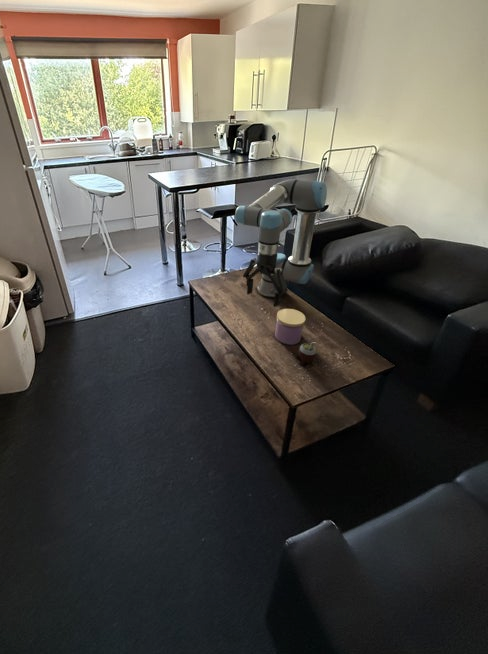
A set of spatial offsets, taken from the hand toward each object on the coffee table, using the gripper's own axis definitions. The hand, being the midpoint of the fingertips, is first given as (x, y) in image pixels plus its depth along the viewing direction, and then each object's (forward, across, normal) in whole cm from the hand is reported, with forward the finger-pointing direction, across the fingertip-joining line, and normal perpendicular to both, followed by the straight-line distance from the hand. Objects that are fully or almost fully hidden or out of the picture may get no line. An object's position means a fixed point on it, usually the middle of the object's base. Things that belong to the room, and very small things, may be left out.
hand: (262, 299), depth 133 cm
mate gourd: (+26, +21, +7) cm, 34 cm away
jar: (+25, +5, +17) cm, 31 cm away
